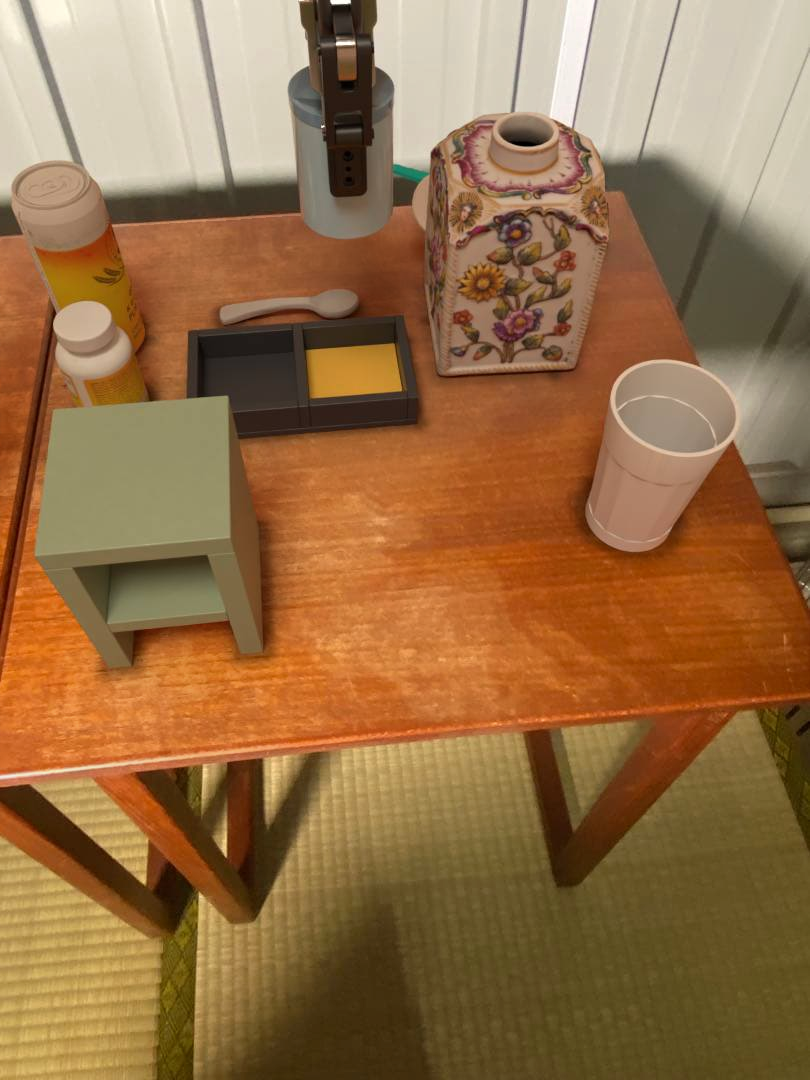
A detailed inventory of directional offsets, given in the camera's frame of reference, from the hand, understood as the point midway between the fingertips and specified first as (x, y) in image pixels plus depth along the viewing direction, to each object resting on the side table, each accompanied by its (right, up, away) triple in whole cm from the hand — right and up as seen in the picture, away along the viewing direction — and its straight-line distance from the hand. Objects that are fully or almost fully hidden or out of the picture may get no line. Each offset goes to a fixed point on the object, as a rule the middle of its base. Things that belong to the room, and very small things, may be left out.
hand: (343, 158), depth 52 cm
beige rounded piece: (+7, +5, +18) cm, 20 cm away
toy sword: (+22, +4, +25) cm, 34 cm away
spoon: (-6, -4, +22) cm, 23 cm away
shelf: (-11, -27, +6) cm, 30 cm away
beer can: (-21, -7, +19) cm, 29 cm away
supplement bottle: (-19, -13, +15) cm, 28 cm away
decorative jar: (+12, -5, +21) cm, 24 cm away
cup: (+20, -22, +11) cm, 31 cm away
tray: (-4, -11, +17) cm, 21 cm away
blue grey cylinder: (0, -2, +3) cm, 4 cm away
